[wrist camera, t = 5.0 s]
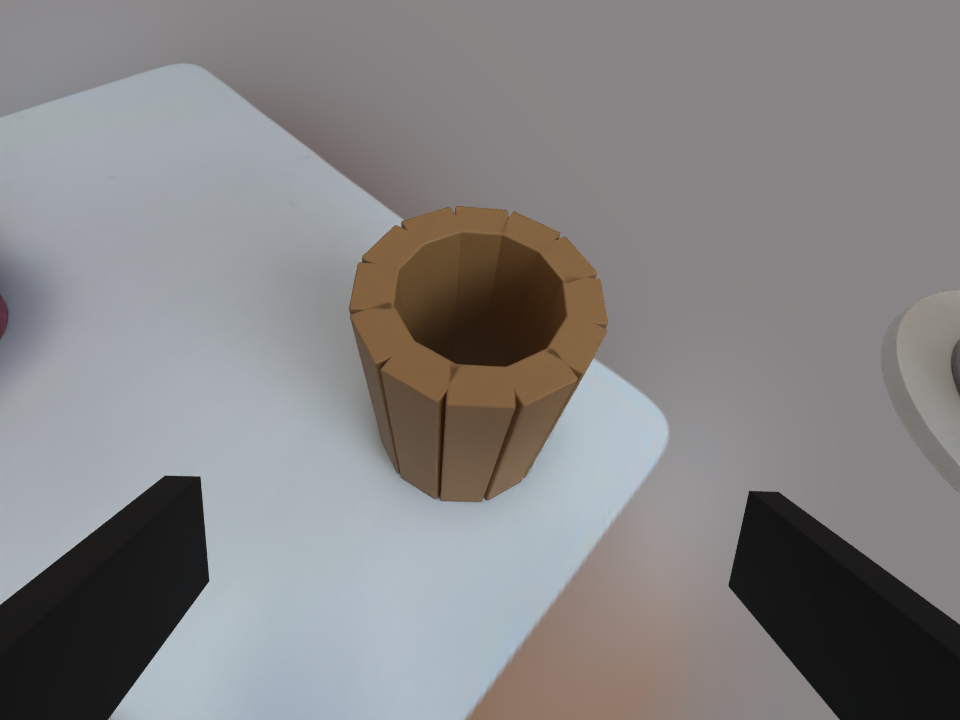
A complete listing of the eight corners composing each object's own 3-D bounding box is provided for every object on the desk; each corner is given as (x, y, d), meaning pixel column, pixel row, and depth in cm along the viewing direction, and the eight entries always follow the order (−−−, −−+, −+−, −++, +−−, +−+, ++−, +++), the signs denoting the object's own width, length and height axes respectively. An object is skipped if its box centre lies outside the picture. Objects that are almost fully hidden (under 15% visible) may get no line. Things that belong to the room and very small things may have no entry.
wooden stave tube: (566, 399, 29) (640, 268, 19) (493, 536, 24) (538, 461, 14) (439, 331, 31) (443, 178, 20) (348, 444, 26) (294, 319, 16)
